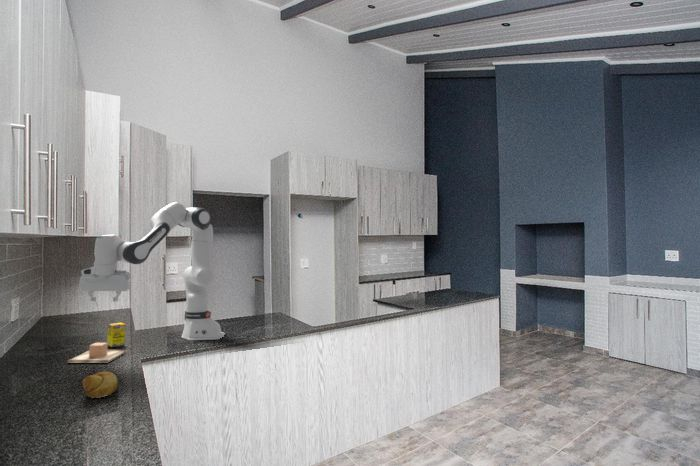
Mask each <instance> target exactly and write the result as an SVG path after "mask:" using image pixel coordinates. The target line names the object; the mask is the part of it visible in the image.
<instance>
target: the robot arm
mask: <svg viewBox="0 0 700 466" xmlns="http://www.w3.org/2000/svg"><path fill="white" fill-rule="evenodd" d="M211 218H212V217H211V214H210V212H209V210H208V209H206V208H203V207H196V206H195V207H193V206H192V207H186V206H184V204H183V203H180V202H177V201H175V202H174V201H173V202H171V203H169V204H168V205H165V206H164V207H163V208H161V209H160V210H158V211H157V212H156V213H155V214H154V215H152V217H151V218H150V219H149V225H150V227H151V229H152V230H150V232H148V233H147V234H146V235H145V236H144V237H143V238H141V239H140V240H137V241H127V240H125V239H122V238H120V237H119V236H117V235H116V234H114V233H112V234H111V233H110V234H108V233H107V234H101V235H99V236H97V237H96V239H95V242H94V251H93V254H94V258H95V259H94V262H93V266H91V267H88V268H84V269H81V270H80V271H81V276H80V278H79V283H78V288H79V289H78V290H79V291H80V292H87V295H88V296H89V298H90V302H96V301H97V297H96V296H95V295H94V293H95V292H115V294H116V295H115V296H113V297H112V302H118V301H119V297H120V296H121V294H122V292H127V291H129V290H130V288H131V282H130V277H131V274H130V272H128V271H127V270H118V262H120V263H127V264H132V265H141V264H143V263H144V262H146V260H147V259H148V258H149V256H150V254H151V252H152V251H153V249H155V247H156V246H157V245H159V244H160V242H162V241H163V239H165V237H167V235H168V234H169V233H170V232H171V231H172V230H173V229H175V227H177V226H180V227H182V228H190V229H192V230H191V231H192V237H191V244H190V252H189V256H190V258H191V259H190V260H191V265H190V266H188V267H186V268H185V270H183V275H182V276H183V279H184V287H185V288H184V289H185V296H186V299H185V301H186V302H185V311H184V318H183V319H184V325H183V329H182V330H183V331H182V334H181V338H182V339H185V340H187V341H212V340H220V338H221V339H222V337H223V338H224V337H225V336H224V335H226V334H225V332H223V331H222V329H221V325H220V323H219V322H217V321H216V320H215V319H213V318H212V317H211V316H212V311H210V310H208V301H209V300H208V298H209V297H208V294H207V290H206V287H208V286H209V285H211V284H212V283H213V282H214V280H215V279H214V278H215V275H214V272H213V265H212V252H213V251H212V250H213V244H214V243H213V242H214V229H213V225H212V224H211Z"/></svg>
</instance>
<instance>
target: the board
mask: <svg viewBox="0 0 700 466" xmlns="http://www.w3.org/2000/svg"><path fill="white" fill-rule="evenodd" d="M126 351H127V350H126V349H107V354H106V355H104V356H102V357H89V349H88V350H87V351H85V352H83V353H81V354H78V355H77V356H75V357H72V358H71V359H70V358H69V359H67V364H68V363H108V362H110V361H112V360H113V361H115V360H116V359H115V358H117V357H118V358H120V357H122V356H123V355H125V354H126V353H127V352H126ZM124 353H125V354H124ZM122 354H123V355H122ZM121 355H122V356H121ZM119 356H120V357H119ZM118 358H117V359H118ZM114 359H115V360H114ZM113 361H112V362H113ZM110 363H111V362H110ZM108 364H109V363H108Z"/></svg>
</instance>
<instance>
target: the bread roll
mask: <svg viewBox="0 0 700 466" xmlns="http://www.w3.org/2000/svg"><path fill="white" fill-rule="evenodd" d="M82 387H83V390H84V392H85V395H86V397H87V396H88V398H89V397H99V396H104V395H109V394H111V393H113V392H114V393H115V392H116V391H117V389H118V387H119V386H118V378H117V375H116V374H115V373H112V372H111V371H99V372H96V373H95V374H89V375H87V376H85V378H84V379H83V380H82ZM114 393H113V394H114Z"/></svg>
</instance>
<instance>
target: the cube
mask: <svg viewBox="0 0 700 466" xmlns="http://www.w3.org/2000/svg"><path fill="white" fill-rule="evenodd" d="M108 348H109V347H108V343H107V342H94V343H91V344H90V345H89V348H88V350H89V357H102V356H104V355H106V354H107V350H108Z"/></svg>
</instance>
